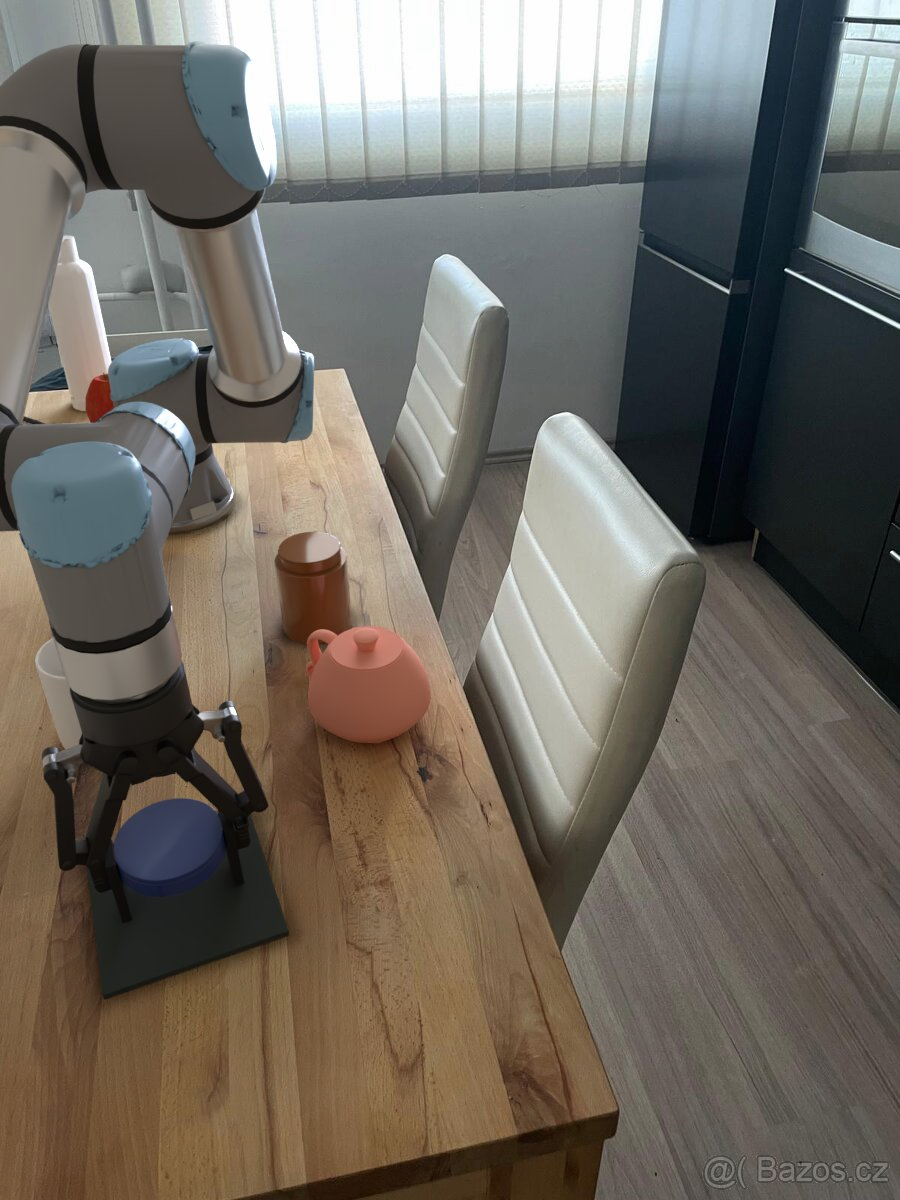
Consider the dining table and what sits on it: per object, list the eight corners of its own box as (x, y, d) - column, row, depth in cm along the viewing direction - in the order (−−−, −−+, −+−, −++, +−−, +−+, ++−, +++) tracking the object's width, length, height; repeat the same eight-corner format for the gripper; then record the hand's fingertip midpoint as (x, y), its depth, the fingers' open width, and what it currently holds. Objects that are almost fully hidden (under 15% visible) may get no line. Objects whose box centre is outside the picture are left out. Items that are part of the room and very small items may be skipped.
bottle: (129, 398, 166) (95, 235, 150) (98, 414, 160) (59, 246, 144) (94, 391, 169) (58, 231, 153) (62, 407, 163) (21, 241, 147)
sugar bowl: (385, 773, 87) (380, 690, 81) (272, 721, 93) (260, 640, 87) (453, 702, 95) (453, 621, 90) (346, 659, 102) (339, 581, 96)
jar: (275, 613, 109) (265, 537, 103) (339, 599, 112) (333, 523, 106) (293, 651, 103) (283, 572, 97) (360, 634, 105) (355, 556, 100)
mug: (184, 693, 97) (167, 613, 91) (187, 745, 90) (169, 662, 84) (63, 714, 94) (38, 633, 88) (58, 769, 87) (30, 685, 82)
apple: (123, 420, 158) (110, 359, 152) (154, 431, 154) (142, 369, 148) (82, 436, 152) (66, 374, 146) (113, 448, 148) (99, 384, 142)
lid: (216, 896, 69) (213, 879, 68) (105, 900, 69) (99, 883, 67) (233, 812, 76) (230, 796, 75) (132, 815, 75) (127, 799, 74)
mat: (86, 861, 78) (85, 856, 78) (249, 812, 83) (248, 808, 82) (104, 1000, 68) (102, 995, 67) (289, 935, 72) (288, 930, 72)
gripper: (265, 607, 68) (295, 819, 81) (-43, 677, 61) (42, 897, 74) (292, 664, 63) (319, 883, 75) (-45, 748, 56) (47, 974, 68)
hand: (182, 890), depth 75 cm, fingers closed on lid, 8 cm apart
